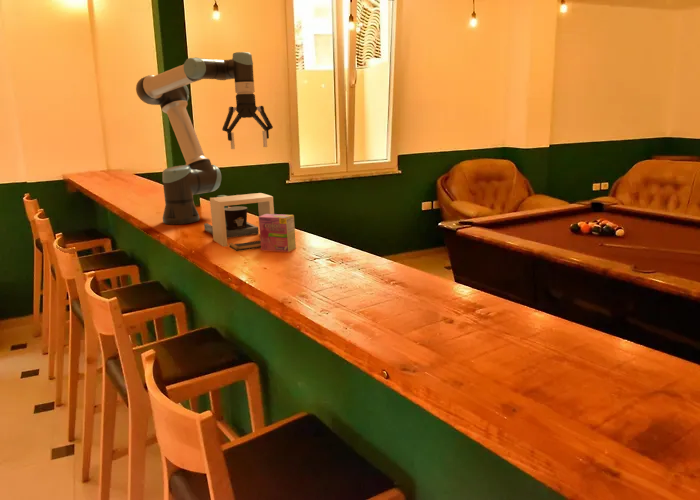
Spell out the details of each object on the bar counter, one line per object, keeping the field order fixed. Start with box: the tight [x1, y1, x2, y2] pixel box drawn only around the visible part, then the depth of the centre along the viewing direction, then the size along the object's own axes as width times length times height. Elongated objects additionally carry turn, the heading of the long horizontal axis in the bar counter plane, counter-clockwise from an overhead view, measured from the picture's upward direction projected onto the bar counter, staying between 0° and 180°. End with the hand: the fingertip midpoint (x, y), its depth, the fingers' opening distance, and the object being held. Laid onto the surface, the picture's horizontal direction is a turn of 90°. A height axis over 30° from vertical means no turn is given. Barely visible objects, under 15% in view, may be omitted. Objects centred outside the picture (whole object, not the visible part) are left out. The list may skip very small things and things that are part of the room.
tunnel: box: [209, 192, 275, 247], centre depth 201 cm, size 12×19×16 cm, turn 119°
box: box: [258, 213, 297, 253], centre depth 186 cm, size 10×6×12 cm, turn 69°
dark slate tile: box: [228, 240, 261, 252], centre depth 193 cm, size 8×16×1 cm, turn 119°
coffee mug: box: [224, 206, 248, 230], centre depth 210 cm, size 12×9×10 cm
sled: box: [204, 194, 260, 239], centre depth 215 cm, size 20×15×13 cm
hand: (249, 148), depth 226 cm, fingers open, 13 cm apart
